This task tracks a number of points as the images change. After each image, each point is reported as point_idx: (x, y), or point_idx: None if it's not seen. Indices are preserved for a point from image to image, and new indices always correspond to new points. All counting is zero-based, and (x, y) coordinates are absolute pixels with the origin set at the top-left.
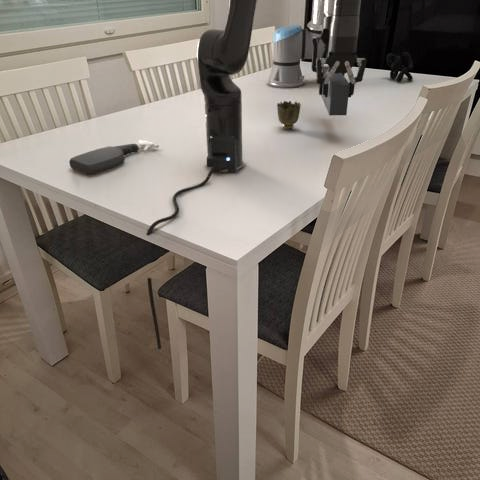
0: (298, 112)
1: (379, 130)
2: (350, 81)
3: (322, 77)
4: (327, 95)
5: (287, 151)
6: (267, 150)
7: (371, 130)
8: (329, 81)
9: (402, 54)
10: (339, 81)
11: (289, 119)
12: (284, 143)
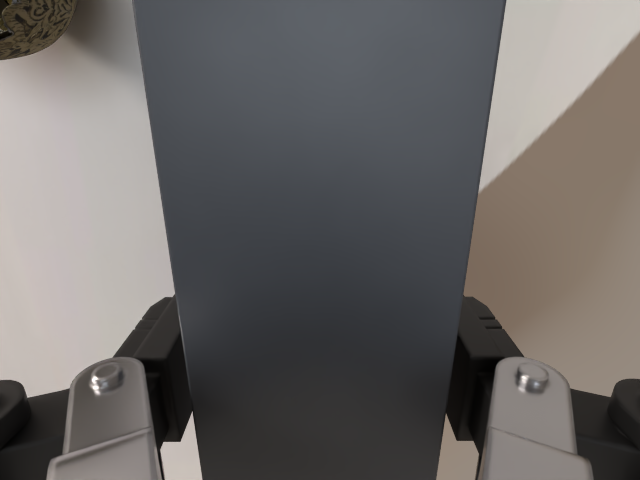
0: (42, 11)
1: (631, 17)
2: (481, 434)
3: (34, 477)
4: None
5: (107, 331)
6: (19, 321)
7: (582, 17)
8: (187, 329)
9: None
10: (326, 416)
11: (11, 58)
12: (76, 239)
